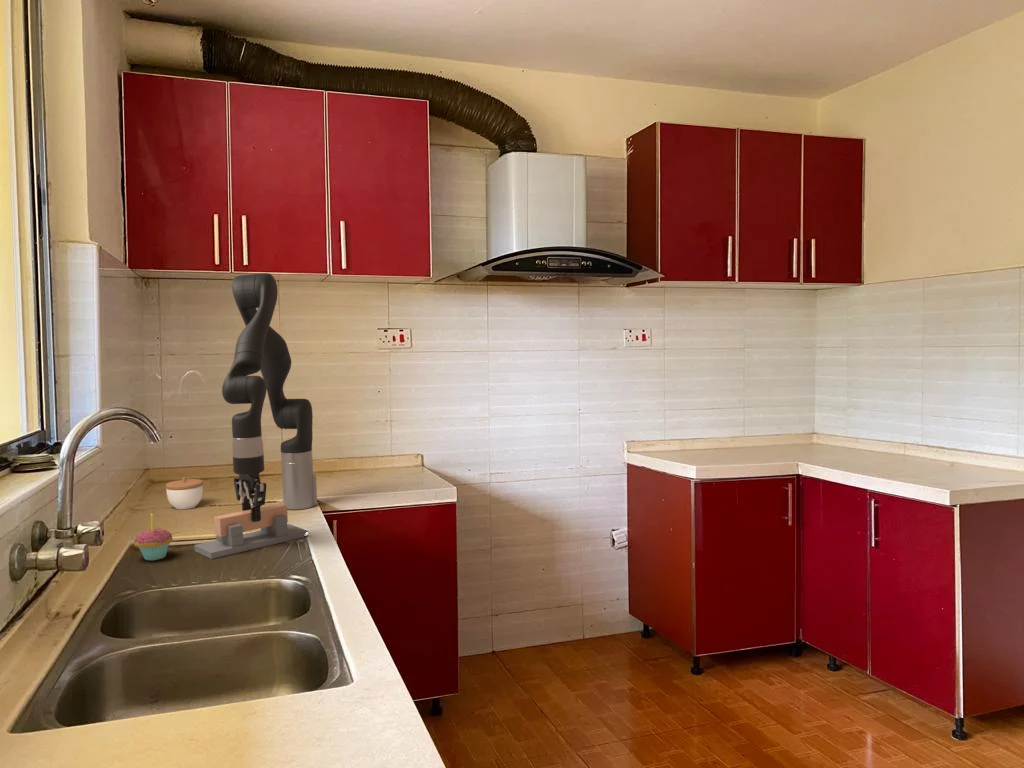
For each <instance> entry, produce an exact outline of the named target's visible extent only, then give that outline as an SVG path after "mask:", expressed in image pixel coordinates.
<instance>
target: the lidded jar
mask: <svg viewBox="0 0 1024 768" xmlns="http://www.w3.org/2000/svg"><path fill="white" fill-rule="evenodd" d="M203 486H204V480H202V479H195V478H193V479H192V478H190V479H189V478H187V477H186V476H184V477H182V478H181V479H179V480H173V481H170V482H167V483H166V484H165V490H166V498H167V500H168V502H169V503H170V505H171V506H172V507H174V509H175V510H179V511H181V510H188V509H189V510H190V509H195V508H197V505H198V504H199V503H200V502H201V500H202V499H203V493H204V488H203Z"/></svg>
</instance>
